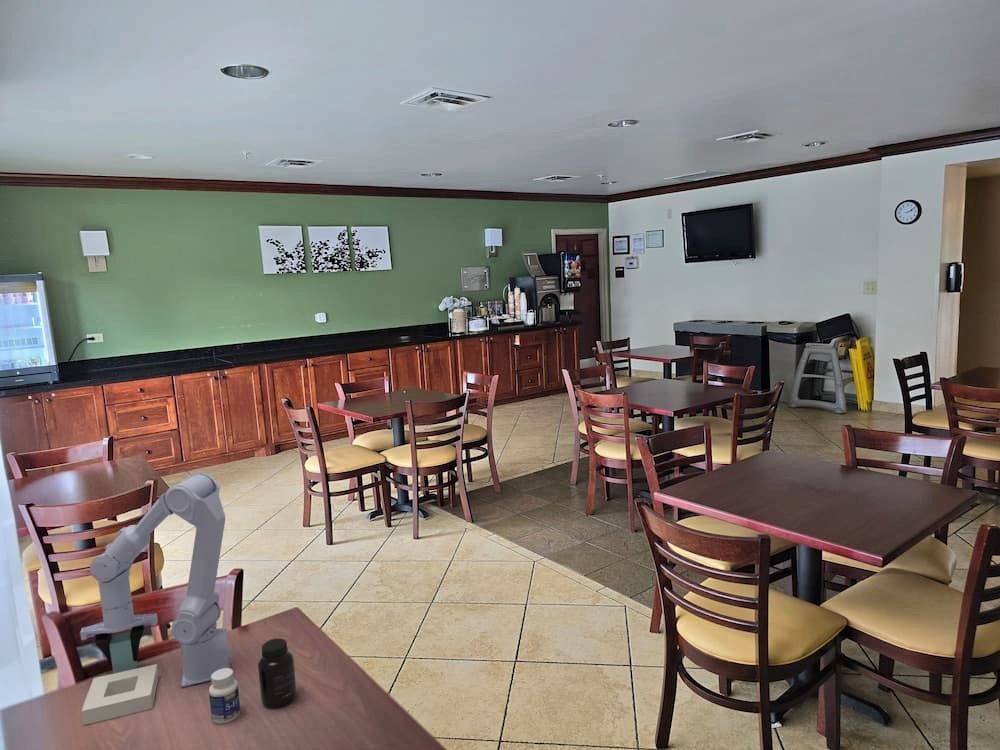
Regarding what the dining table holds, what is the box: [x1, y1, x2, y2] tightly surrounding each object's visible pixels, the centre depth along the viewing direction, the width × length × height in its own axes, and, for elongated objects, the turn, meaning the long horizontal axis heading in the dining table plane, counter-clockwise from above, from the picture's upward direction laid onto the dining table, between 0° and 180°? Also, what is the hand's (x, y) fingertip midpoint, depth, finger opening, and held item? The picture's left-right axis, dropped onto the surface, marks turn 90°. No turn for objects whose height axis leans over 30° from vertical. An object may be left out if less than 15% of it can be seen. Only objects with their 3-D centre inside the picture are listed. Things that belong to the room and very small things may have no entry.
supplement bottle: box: [257, 637, 297, 710], centre depth 133 cm, size 7×7×12 cm
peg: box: [109, 631, 138, 674], centre depth 145 cm, size 4×4×8 cm
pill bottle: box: [208, 667, 241, 725], centre depth 129 cm, size 5×5×9 cm
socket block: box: [80, 663, 160, 726], centre depth 136 cm, size 12×12×3 cm
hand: (124, 661), depth 145 cm, fingers closed on peg, 4 cm apart
